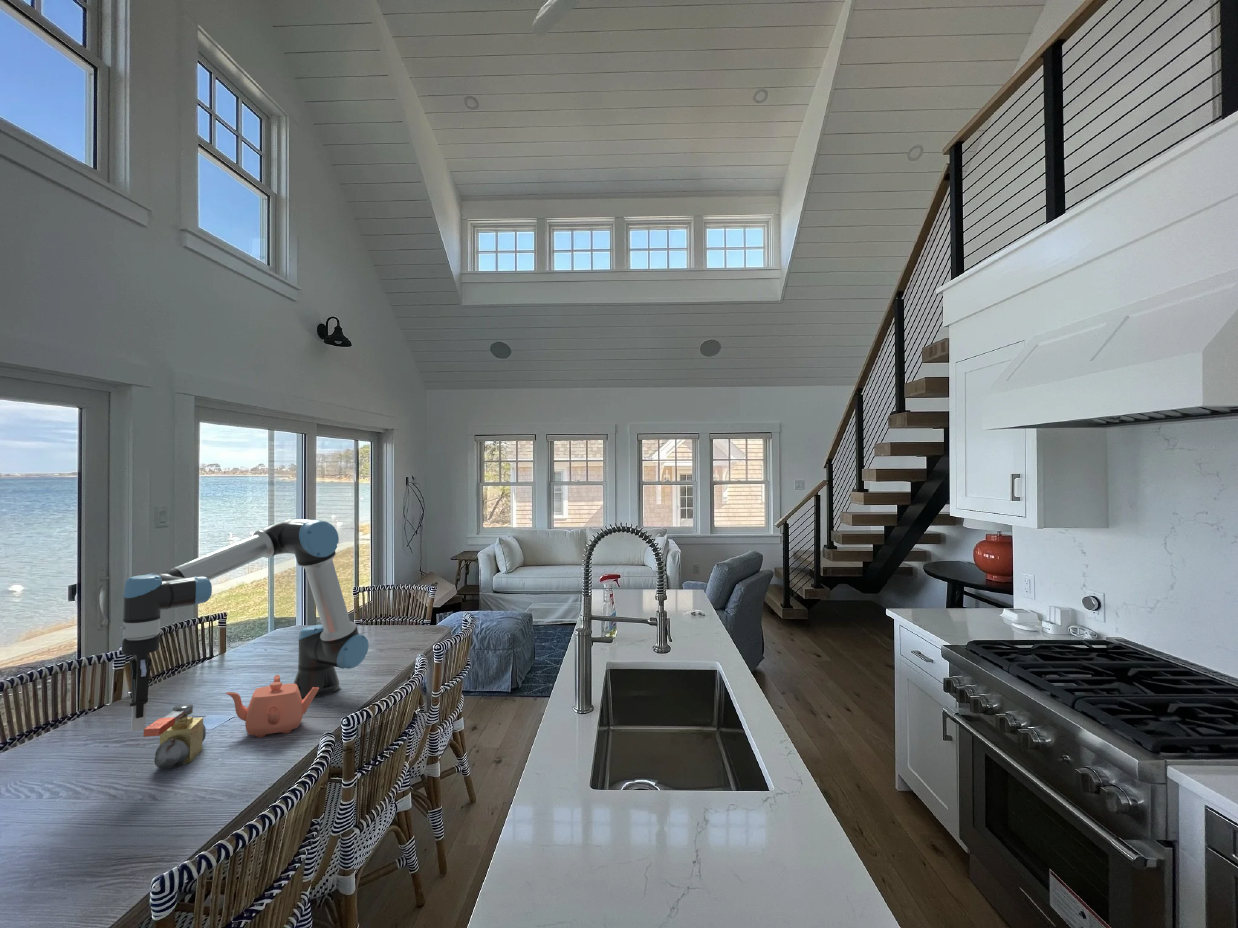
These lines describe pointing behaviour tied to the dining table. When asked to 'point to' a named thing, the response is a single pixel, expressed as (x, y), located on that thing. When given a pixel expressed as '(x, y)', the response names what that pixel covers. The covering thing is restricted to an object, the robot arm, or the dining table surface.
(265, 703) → the teapot
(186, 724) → the valve body
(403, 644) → the dining table surface
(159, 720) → the lever
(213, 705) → the dining table surface
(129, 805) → the dining table surface
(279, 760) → the dining table surface
